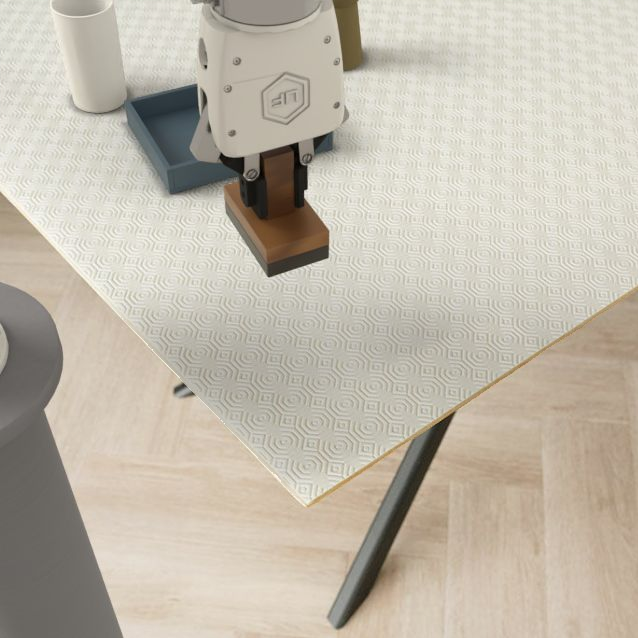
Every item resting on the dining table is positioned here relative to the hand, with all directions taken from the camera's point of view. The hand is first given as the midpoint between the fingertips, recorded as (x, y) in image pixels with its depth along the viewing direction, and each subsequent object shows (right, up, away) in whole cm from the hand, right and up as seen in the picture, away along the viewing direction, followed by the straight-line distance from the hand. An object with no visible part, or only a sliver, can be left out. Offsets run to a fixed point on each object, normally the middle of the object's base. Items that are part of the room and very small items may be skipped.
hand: (274, 202), depth 74 cm
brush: (0, -2, +3) cm, 4 cm away
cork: (+5, +25, +42) cm, 49 cm away
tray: (-8, +12, +29) cm, 33 cm away
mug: (-24, +19, +35) cm, 46 cm away
